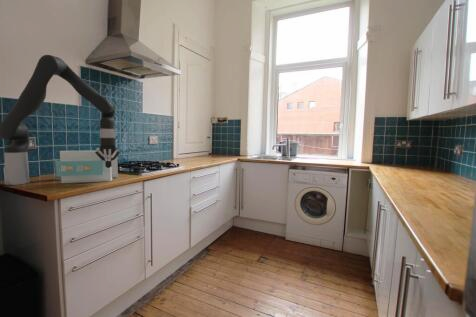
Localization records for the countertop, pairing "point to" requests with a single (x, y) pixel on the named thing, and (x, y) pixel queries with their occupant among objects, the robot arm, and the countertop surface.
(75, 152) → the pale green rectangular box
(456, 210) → the countertop surface
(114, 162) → the rounded white slab
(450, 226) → the countertop surface
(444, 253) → the countertop surface
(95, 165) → the panel
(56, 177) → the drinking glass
